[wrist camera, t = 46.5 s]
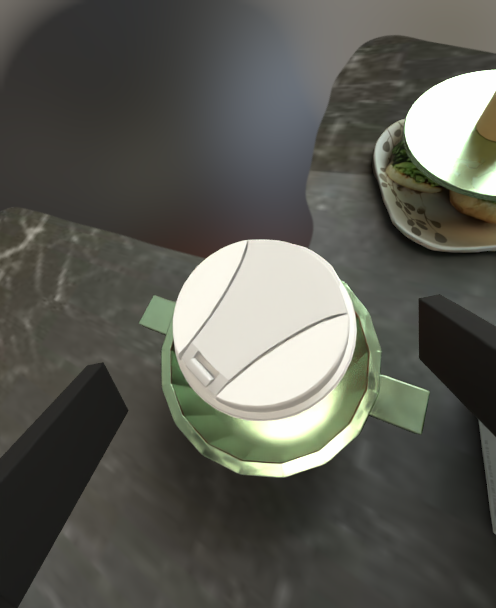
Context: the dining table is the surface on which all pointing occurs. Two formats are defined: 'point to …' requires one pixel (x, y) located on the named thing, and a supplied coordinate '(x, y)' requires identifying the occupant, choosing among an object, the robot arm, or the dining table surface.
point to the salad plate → (429, 202)
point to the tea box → (489, 468)
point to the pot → (297, 429)
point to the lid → (456, 134)
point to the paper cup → (264, 330)
